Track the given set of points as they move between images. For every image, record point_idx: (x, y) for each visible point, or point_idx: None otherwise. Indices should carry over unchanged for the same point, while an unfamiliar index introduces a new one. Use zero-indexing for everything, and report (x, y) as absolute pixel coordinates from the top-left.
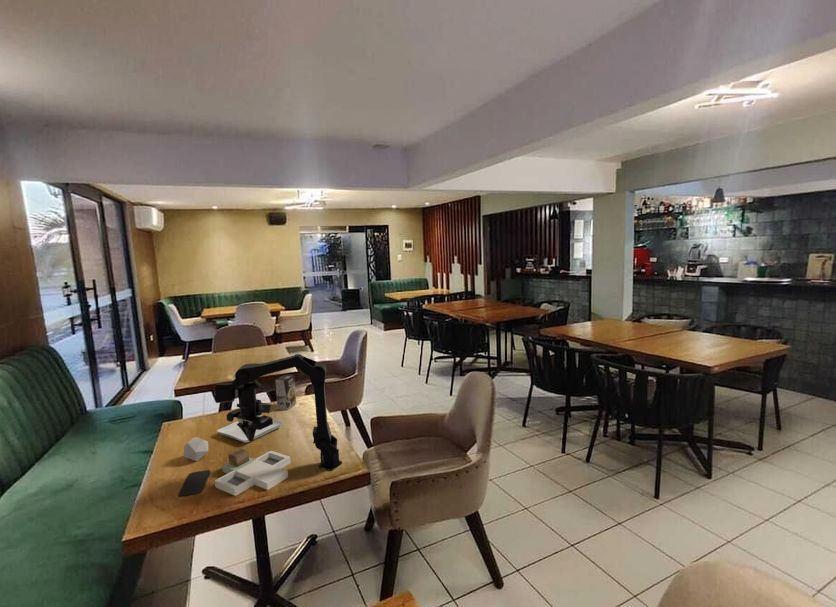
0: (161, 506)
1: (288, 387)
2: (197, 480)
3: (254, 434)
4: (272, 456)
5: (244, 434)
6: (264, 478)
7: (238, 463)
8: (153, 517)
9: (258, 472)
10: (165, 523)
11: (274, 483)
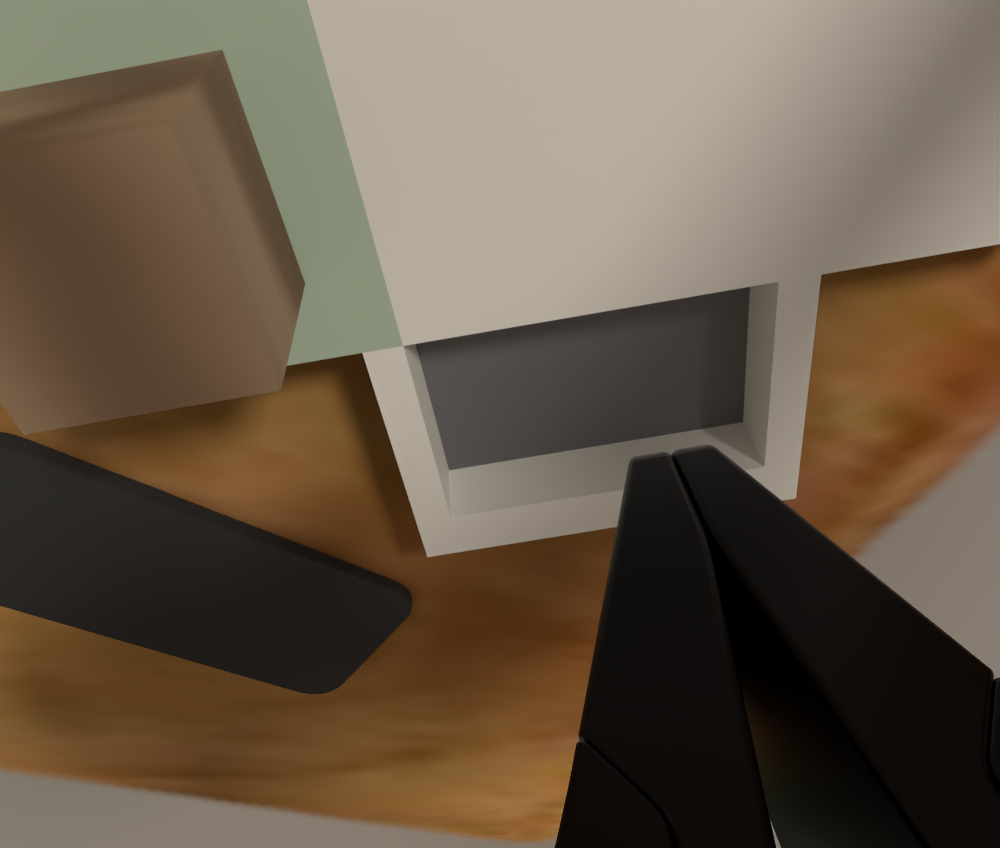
0: (371, 756)
1: None
2: (158, 571)
3: (891, 608)
4: None
5: None
6: (994, 181)
7: (294, 295)
8: (469, 789)
9: (762, 154)
10: None
11: None
